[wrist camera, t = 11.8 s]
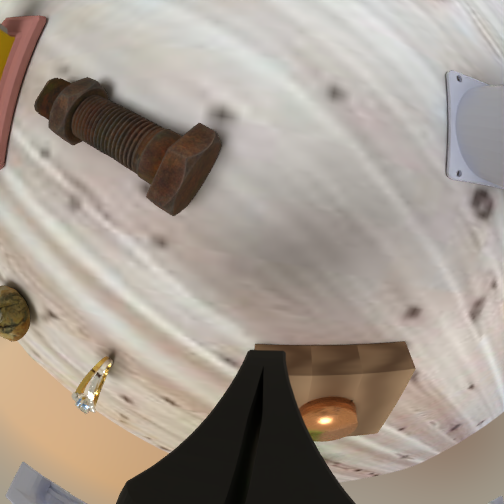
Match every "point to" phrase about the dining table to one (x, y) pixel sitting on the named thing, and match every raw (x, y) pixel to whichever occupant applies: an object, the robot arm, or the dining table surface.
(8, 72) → the yellow mantel clock
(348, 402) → the orange short cylinder
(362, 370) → the block
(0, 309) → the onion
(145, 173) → the bolt
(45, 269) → the dining table surface
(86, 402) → the ring
